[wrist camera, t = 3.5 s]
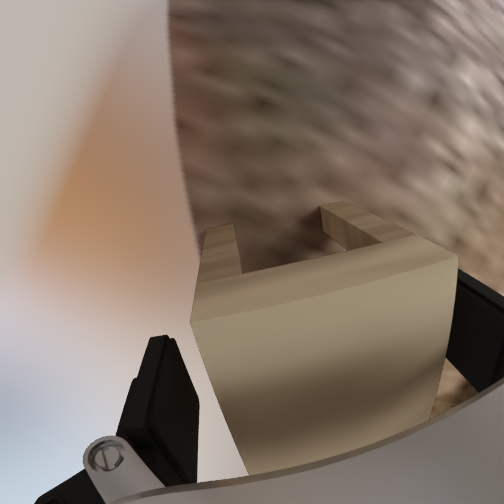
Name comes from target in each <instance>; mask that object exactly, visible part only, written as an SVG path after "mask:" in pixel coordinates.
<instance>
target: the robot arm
mask: <svg viewBox="0 0 504 504" xmlns="http://www.w3.org/2000/svg"><path fill="white" fill-rule="evenodd" d="M445 357H446V358H447V359H448V360H449V361H450V362H451V364H452V365H453V366H454V367H455V368H456V369H457V370H458V371H459V372H460V373H461V374H462V375H463V376H464V377H465V378H466V379H467V381H468V382H469V383H470V384H471V385H472V386H473V387H474V388H475V389H476V390H477V391H478V394H476V395H475V396H473V397H471V398H470V399H468V400H466V401H464V402H462V403H461V404H459V405H457V406H455V407H453V408H451V409H449V410H447V411H445V412H444V413H442V414H440V415H438V416H436V417H434V418H431V419H429V420H427V421H425V422H423V423H421V424H419V425H416V426H414V427H412V428H410V429H407V430H405V431H403V432H400V433H398V434H395V435H393V436H391V437H388V438H385V439H383V440H380V441H378V442H375V443H372V444H369V445H367V446H364V447H361V448H358V449H355V450H352V451H349V452H346V453H343V454H339V455H336V456H333V457H329V458H326V459H322V460H319V461H315V462H311V463H307V464H303V465H299V466H295V467H290V468H286V469H281V470H276V471H271V472H266V473H261V474H256V475H250V476H244V477H238V478H231V479H223V480H215V481H208V482H200V483H197V461H198V429H199V407H200V406H199V398H198V396H197V393H196V391H195V388H194V386H193V383H192V381H191V379H190V376H189V374H188V371H187V369H186V366H185V364H184V361H183V359H182V356H181V354H180V351H179V348H178V346H177V343H176V341H175V339H174V338H169V336H168V335H162V336H156V337H151V338H150V339H149V342H148V345H147V348H146V351H145V354H144V357H143V360H142V363H141V366H140V370H139V373H138V376H137V378H134V379H133V381H132V383H131V386H130V389H129V392H128V395H127V399H126V402H125V405H124V408H123V412H122V415H121V419H120V422H119V425H118V429H117V432H116V436H105V437H102V438H99V439H97V440H95V441H94V442H93V443H91V444H90V445H89V446H88V448H87V449H86V450H85V453H84V455H83V464H84V467H85V469H83V470H82V471H80V472H79V473H77V474H76V475H74V476H73V477H71V478H69V479H68V480H66V481H64V482H63V483H61V484H60V485H58V486H56V487H55V488H53V489H51V490H50V491H48V492H47V493H45V494H43V495H42V496H40V497H39V498H38V499H37V500H36V502H35V503H34V504H504V296H502V295H501V294H499V293H497V292H496V291H494V290H493V289H491V288H490V287H488V286H486V285H485V284H483V283H481V282H480V281H478V280H477V279H475V278H473V277H472V276H470V275H468V274H467V273H465V272H463V271H462V270H460V269H458V273H457V284H456V294H455V302H454V310H453V317H452V323H451V330H450V335H449V341H448V346H447V351H446V356H445Z"/></svg>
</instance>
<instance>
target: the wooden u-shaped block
mask: <svg viewBox="0 0 504 504" xmlns="http://www.w3.org/2000/svg"><path fill="white" fill-rule="evenodd" d="M320 211H321V219H322V226H323V231H324V232H325V233H326V234H327V235H329V236H330V237H331V238H332V239H334V240H335V241H336V242H337V243H339V244H340V245H341V246H342V247H344V248H345V249H346V250H347V251H344V252H340V253H336V254H331V255H327V256H322V257H318V258H313V259H309V260H304V261H300V262H295V263H291V264H286V265H282V266H277V267H272V268H268V269H263V270H258V271H254V272H249V273H244V274H243V271H242V266H241V260H240V255H239V249H238V245H237V240H236V235H235V230H234V226H233V223H232V224H228V225H223V226H218V227H214V228H209V229H206V234H205V239H204V244H203V250H202V255H201V261H200V266H199V272H198V278H197V283H196V289H195V295H194V302H193V307H192V314H191V320H190V324H191V327H192V330H193V333H194V336H195V339H196V342H197V345H198V348H199V351H200V354H201V357H202V359H203V362H204V365H205V367H206V370H207V373H208V376H209V379H210V381H211V384H212V386H213V389H214V392H215V395H216V397H217V400H218V402H219V405H220V407H221V410H222V413H223V415H224V418H225V420H226V423H227V425H228V428H229V430H230V432H231V434H232V437H233V439H234V442H235V444H236V446H237V449H238V451H239V454H240V456H241V458H242V460H243V462H244V465H245V467H246V469H247V472H248V474H249V476H250V475H256V474H261V473H266V472H271V471H276V470H281V469H286V468H290V467H295V466H299V465H303V464H307V463H311V462H315V461H319V460H322V459H326V458H329V457H333V456H336V455H339V454H343V453H346V452H349V451H352V450H355V449H358V448H361V447H364V446H367V445H369V444H372V443H375V442H378V441H380V440H383V439H385V438H388V437H391V436H393V435H395V434H398V433H400V432H403V431H405V430H407V429H410V428H412V427H414V426H416V425H419V424H421V423H423V422H425V421H427V420H429V418H430V414H431V411H432V408H433V404H434V401H435V397H436V394H437V390H438V386H439V382H440V378H441V374H442V370H443V365H444V361H445V356H446V351H447V346H448V341H449V335H450V330H451V323H452V317H453V310H454V302H455V294H456V284H457V273H458V259H459V256H457V255H456V254H454V253H452V252H450V251H448V250H446V249H444V248H442V247H440V246H438V245H436V244H434V243H432V242H430V241H428V240H426V239H424V238H422V237H420V236H418V235H416V234H414V233H412V232H410V231H408V230H406V229H404V228H402V227H399V226H397V225H395V224H393V223H391V222H389V221H387V220H384V219H382V218H380V217H378V216H376V215H373V214H371V213H369V212H367V211H364V210H362V209H360V208H358V207H355V206H353V205H351V204H348V203H346V202H339V203H333V204H328V205H323V206H320Z"/></svg>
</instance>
